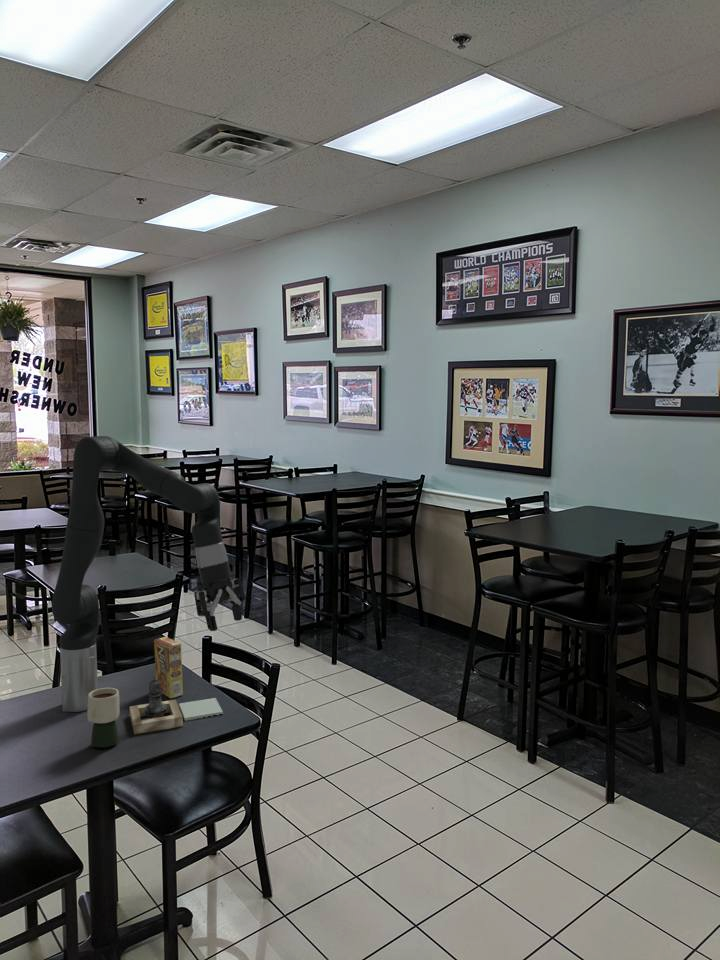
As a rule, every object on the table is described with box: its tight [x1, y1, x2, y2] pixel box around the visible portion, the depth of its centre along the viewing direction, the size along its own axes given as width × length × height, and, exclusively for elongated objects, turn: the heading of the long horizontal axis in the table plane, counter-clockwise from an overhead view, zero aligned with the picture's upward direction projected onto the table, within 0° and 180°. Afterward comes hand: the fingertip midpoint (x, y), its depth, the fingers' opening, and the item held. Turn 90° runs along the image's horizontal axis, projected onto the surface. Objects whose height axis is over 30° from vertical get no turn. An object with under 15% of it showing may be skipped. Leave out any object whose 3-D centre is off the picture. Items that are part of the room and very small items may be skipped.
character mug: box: [86, 687, 121, 748], centre depth 171 cm, size 11×7×13 cm, turn 161°
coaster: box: [178, 697, 224, 722], centre depth 192 cm, size 10×10×1 cm
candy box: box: [153, 636, 184, 699], centre depth 203 cm, size 9×4×15 cm, turn 44°
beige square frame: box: [129, 698, 184, 735], centre depth 185 cm, size 12×12×2 cm
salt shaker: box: [144, 676, 167, 719], centre depth 185 cm, size 6×6×12 cm
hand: (226, 625), depth 177 cm, fingers open, 8 cm apart
